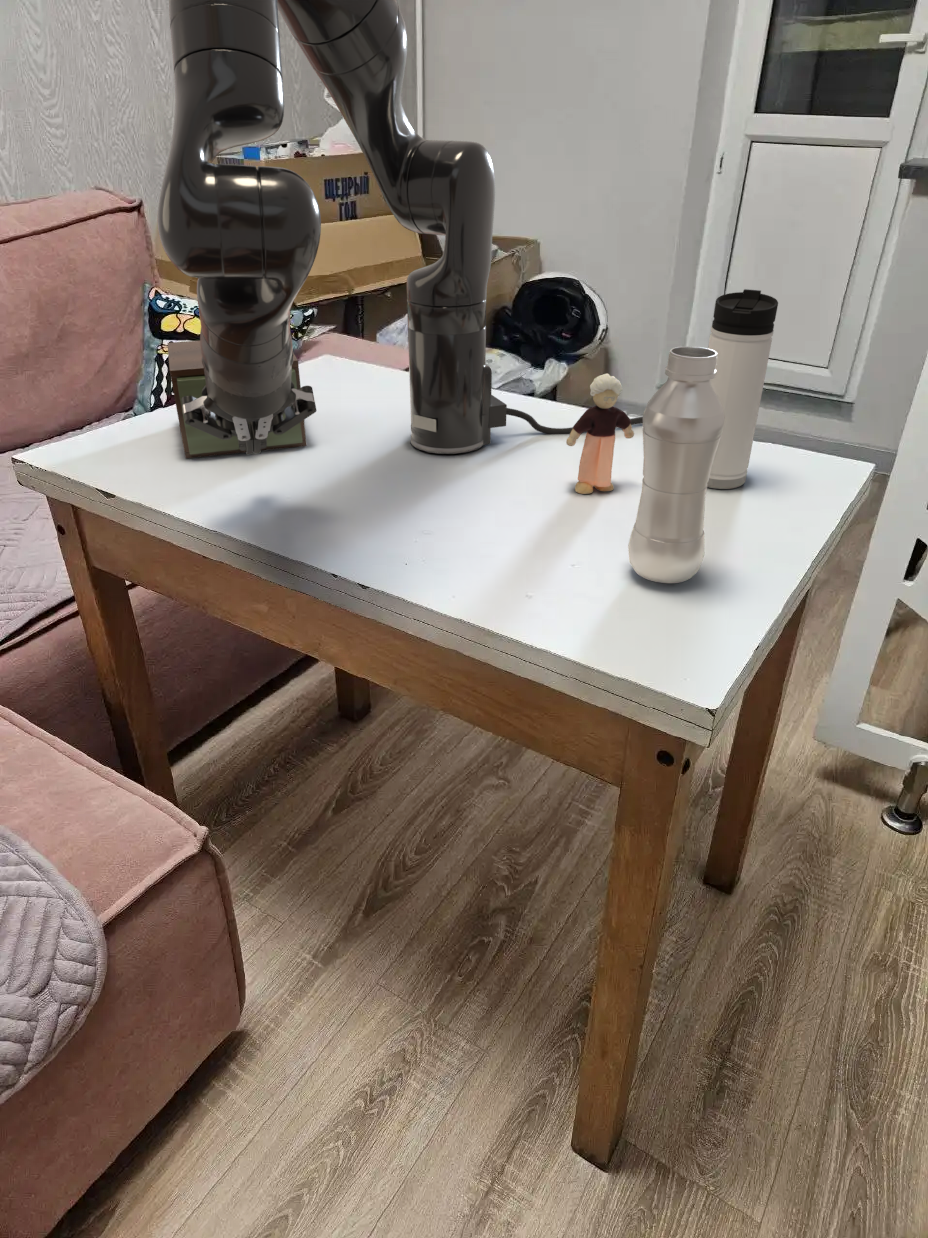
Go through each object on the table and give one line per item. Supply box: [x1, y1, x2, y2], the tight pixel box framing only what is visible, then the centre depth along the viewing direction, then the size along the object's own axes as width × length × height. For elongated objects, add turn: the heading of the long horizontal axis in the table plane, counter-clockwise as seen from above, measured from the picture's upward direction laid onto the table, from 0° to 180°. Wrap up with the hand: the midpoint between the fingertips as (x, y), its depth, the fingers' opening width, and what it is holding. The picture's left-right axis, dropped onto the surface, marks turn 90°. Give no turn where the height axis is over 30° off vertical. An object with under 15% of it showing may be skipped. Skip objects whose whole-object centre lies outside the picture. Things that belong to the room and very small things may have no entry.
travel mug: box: [707, 288, 779, 490], centre depth 91 cm, size 6×7×20 cm
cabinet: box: [166, 340, 308, 460], centre depth 106 cm, size 14×15×11 cm
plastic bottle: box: [627, 346, 725, 584], centre depth 72 cm, size 6×7×20 cm
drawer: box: [177, 369, 302, 454], centre depth 104 cm, size 14×13×9 cm
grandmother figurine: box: [565, 373, 635, 495], centre depth 91 cm, size 8×4×13 cm, turn 117°
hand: (252, 445), depth 89 cm, fingers closed
